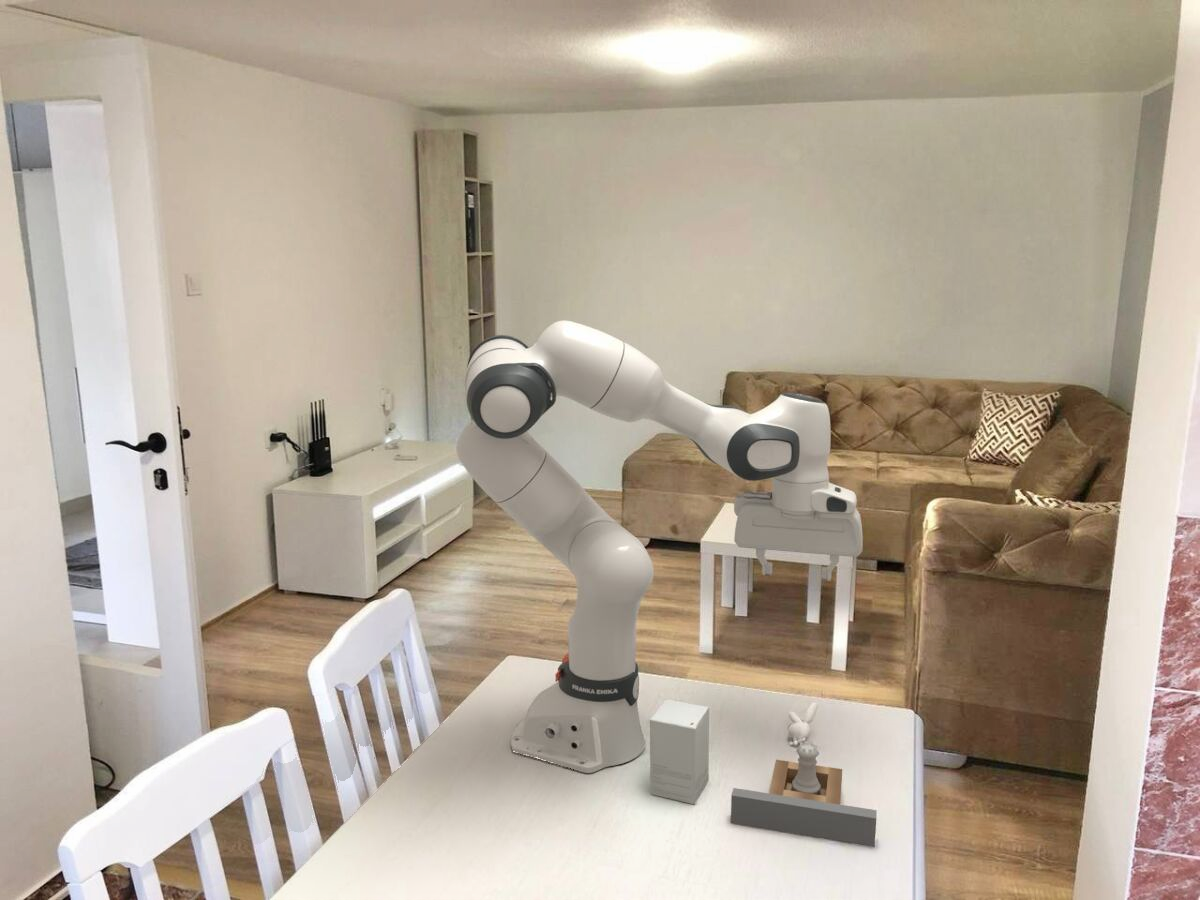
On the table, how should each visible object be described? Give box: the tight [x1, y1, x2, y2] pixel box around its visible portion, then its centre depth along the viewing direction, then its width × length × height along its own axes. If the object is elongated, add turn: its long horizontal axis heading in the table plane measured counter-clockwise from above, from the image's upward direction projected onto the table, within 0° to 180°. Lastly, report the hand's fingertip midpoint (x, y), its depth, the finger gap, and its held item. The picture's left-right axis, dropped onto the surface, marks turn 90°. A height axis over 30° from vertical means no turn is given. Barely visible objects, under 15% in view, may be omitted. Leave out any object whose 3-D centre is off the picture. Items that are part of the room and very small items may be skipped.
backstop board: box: [730, 787, 878, 848], centre depth 132 cm, size 20×2×4 cm, turn 73°
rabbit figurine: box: [787, 701, 818, 746], centre depth 158 cm, size 6×4×8 cm
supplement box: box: [649, 698, 710, 805], centre depth 142 cm, size 7×7×13 cm
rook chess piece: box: [791, 741, 821, 795], centre depth 138 cm, size 4×4×8 cm
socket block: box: [768, 759, 843, 805], centre depth 138 cm, size 10×10×4 cm
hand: (796, 576), depth 151 cm, fingers open, 8 cm apart
